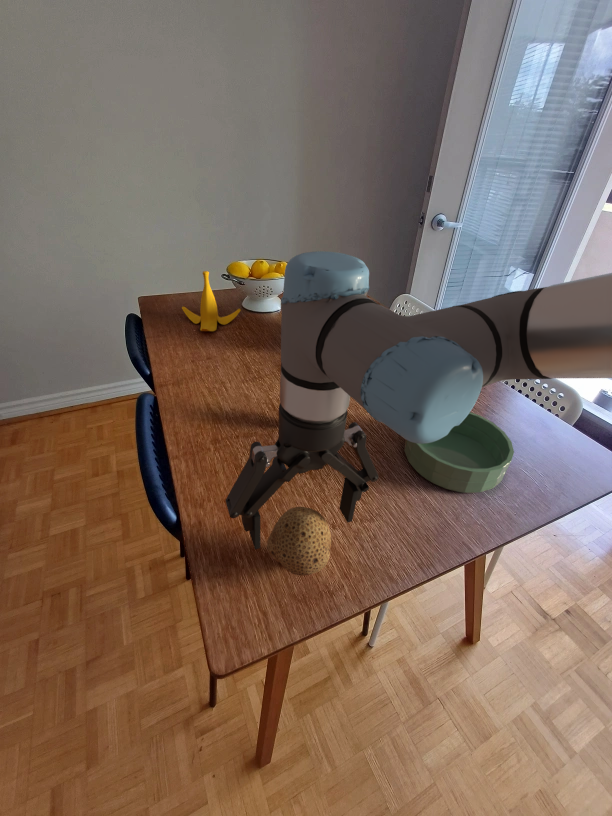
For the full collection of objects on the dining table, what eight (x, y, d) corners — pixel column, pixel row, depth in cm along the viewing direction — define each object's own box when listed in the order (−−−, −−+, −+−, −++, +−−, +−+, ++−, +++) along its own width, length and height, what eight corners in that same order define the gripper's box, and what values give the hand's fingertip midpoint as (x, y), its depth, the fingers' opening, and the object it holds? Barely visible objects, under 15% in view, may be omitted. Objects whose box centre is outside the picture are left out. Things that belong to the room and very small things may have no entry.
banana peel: (183, 315, 132) (177, 264, 122) (241, 317, 133) (239, 266, 123) (172, 337, 118) (164, 281, 108) (237, 339, 120) (234, 284, 110)
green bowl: (524, 480, 78) (536, 458, 74) (442, 505, 71) (451, 482, 68) (459, 422, 92) (466, 400, 89) (386, 438, 86) (391, 416, 82)
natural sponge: (341, 572, 59) (349, 530, 53) (289, 602, 55) (292, 560, 49) (308, 528, 65) (313, 486, 60) (260, 552, 61) (259, 509, 55)
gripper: (393, 371, 50) (367, 487, 63) (191, 403, 42) (207, 529, 54) (429, 404, 45) (392, 524, 57) (203, 449, 36) (218, 578, 49)
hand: (302, 527), depth 56 cm, fingers open, 13 cm apart
